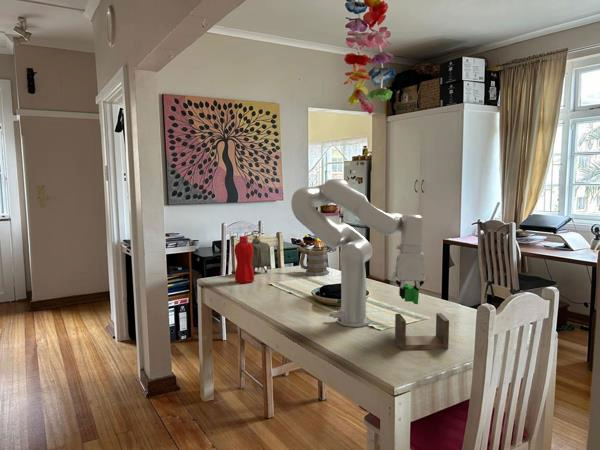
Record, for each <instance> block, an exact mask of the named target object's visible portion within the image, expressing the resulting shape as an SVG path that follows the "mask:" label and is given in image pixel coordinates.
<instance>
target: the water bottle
mask: <svg viewBox="0 0 600 450" xmlns="http://www.w3.org/2000/svg"><path fill="white" fill-rule="evenodd" d="M251 243H252V242H249V237H248V236H247V235H240V236H239V242H237V243H236V244H235V245H234V250H233V251H234V255H235V260H236V267H235V272H234V280H235V282H236V283H239V284H247V283H248V284H250V283H253V282H254V281H255V273H254V270H253V267H252V256H253V251H254V250H253V246H252V244H251Z"/></svg>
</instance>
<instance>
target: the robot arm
mask: <svg viewBox="0 0 600 450" xmlns="http://www.w3.org/2000/svg"><path fill="white" fill-rule="evenodd" d="M329 204H334V205H335V206H338V207H339V208H341V209H342V210H345V211H346V212H348V213H349V214H352V216H354V218H355V219H357V220H358V221H360V222H361V223H362V224H363V225H365V226H367V228H369V229H371V230H373V231H375V232H377V233H379V234H381V235H382V236H383V235H384V236H391V235H393V234H396V233H400V243H399V245H396V248H395V249H396V250H399V251H398V253H397V257H396V262H395V267H394V269H395V270H394V272H393V273H392V275H391V276H390V278H389V279H390V280H391V281H392V282H394V283H395V284H396V285H397V286H398V287H399V291H398V296H399V297H400V298H401V299H402V300H405V298H404V297H405V288H404V286H405V284H406V283H405V282H406V281H409V282H412V281H413V283H414V285H413V286H412V287H413V288H415V289H416V290H417V291H418V292H419V290H420V288H421V287H422V286H423V285H424V284H426V283H427V282H428V281H429V280H430V279H429V277H428V276H427V273H426V259H425V254H424V253H425V252H422V250H423V232H424V217H423V216H421V215H420V214H409V213H408V214H404V213H403V214H402V213H398V212H389V213H386V212H385V211H383V210H381V209H379V208H377V207H376V206H374V205H373V204H371V203H370V201H369V200H368V198H367V196H366V195H365V194H363V193H361V192H360V191H357V189H354V188H352V187H351V186H350V184H349V183H348V182H347V180H344V179H341V178H332V179H328V180H327V181H325V182H324V183H323V184H319V185H315V186H307V187H301V188H298V189H297V190H295V191H294V193H293V194H292V197H291V200H290V205H291V211H292V212H293V215H294V217H295V219H296V220H297V221H298V222H299V223H300V224H301V225H303V226H304V227H305V228H306V229H308V230H309V232H311V234H313V235H314V236H315V237H316V238H317V239H319V241H321V243H323V244H324V245H325V246H327V247H328V248H331V249H335V248H339V247H340V248H341V249H340V252H339V256H338V257H339V265H340V276H341V277H340V279H341V280H340V283H341V286H340V287H341V288H340V289H341V291H340V294H341V296H340V297H341V299H340V300H341V302H340V305H341V308H339V310H337V311H329V317H330V318H332V317H333V319H337V321H336V322H337V324H339V325H341V326H344V327H348V328H361V327H365V326H368V325H369V324H370V322H371V319H370V318H369V317H368V316H367V274H366V266H365V263H366V262H368V261H369V260H370V259H371V258H372V256H373V252H374V251H373V246H372V244H371V242H370V241H368V240H367V239H366V238H365V237H364V236H363V235H362V234H361V233H360V232H358V231H357V230H355V229H354V227H352V226H350V225H349V224H348V223H345V222H342V221H337V222H334V221H332V219H330V218H329V217H327V216H326V215H325V214H324V213H323V212H322V211H319V210H318V209H316V208H319V207H322V206H326V205H329ZM419 293H420V292H419Z"/></svg>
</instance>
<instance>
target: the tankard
mask: <svg viewBox="0 0 600 450" xmlns="http://www.w3.org/2000/svg"><path fill="white" fill-rule="evenodd" d="M296 251H297V252H299V251H300V252H301V254H300V258H299V265H300V267H301V269H303V270H305V274H306V275H308V276H313V277H320V276H322V277H323V276H326V275H329V274H330V271H329V270H328V269H327V268H328V266H329V265H328V264H329V263H328V262H327V259H328V257H329V256H328V253H327V250H326V249H325V248H310V249H306V248H305V249H304V248H303V247H301V246H299V247H296ZM305 257H306V259H307V262H306V265H305V264H304V262H305Z"/></svg>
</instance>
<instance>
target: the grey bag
mask: <svg viewBox="0 0 600 450" xmlns="http://www.w3.org/2000/svg"><path fill="white" fill-rule="evenodd" d="M254 233H258V234H259V236H257V235H254ZM251 236H252V237H253V239H252V240H251V242H250V243H251V244H252V246H253V250H254V251H253V256H252V267H253V271H254V274H255V273H256V269H259V268H262V269H263V270H264V273H265V274H266V273H268V270H266V268H265V267H268V266H270V263H271V251H270V250H271V249H270V246H269V244H268V243H267V242H262V241H261V239H260V237H261V233H260V232H259V231H258V230H253V231H252V232H251Z"/></svg>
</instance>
